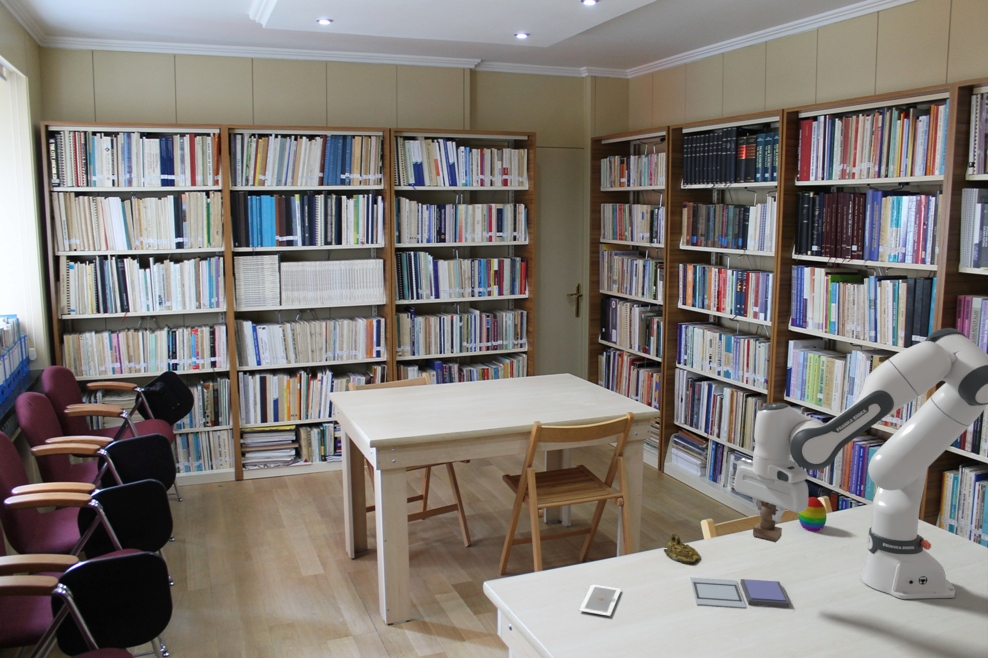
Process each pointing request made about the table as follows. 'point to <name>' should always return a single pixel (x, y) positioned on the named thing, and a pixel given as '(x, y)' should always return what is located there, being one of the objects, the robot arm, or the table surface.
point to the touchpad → (600, 600)
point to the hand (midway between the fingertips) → (768, 518)
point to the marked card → (717, 592)
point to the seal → (681, 551)
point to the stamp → (767, 525)
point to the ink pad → (764, 593)
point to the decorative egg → (813, 515)
